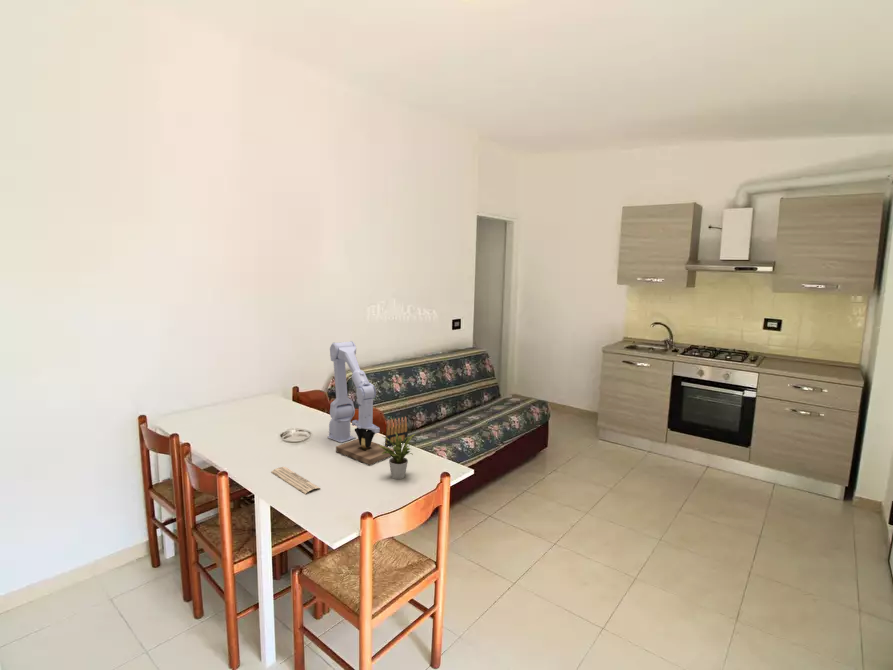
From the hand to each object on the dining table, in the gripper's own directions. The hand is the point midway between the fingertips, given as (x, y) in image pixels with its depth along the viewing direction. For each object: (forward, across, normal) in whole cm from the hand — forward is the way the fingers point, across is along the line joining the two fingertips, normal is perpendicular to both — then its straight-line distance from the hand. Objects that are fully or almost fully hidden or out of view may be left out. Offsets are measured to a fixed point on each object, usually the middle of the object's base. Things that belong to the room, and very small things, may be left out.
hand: (365, 445), depth 203 cm
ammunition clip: (+4, +2, +17) cm, 18 cm away
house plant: (+4, +24, -5) cm, 25 cm away
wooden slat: (+5, 0, -34) cm, 34 cm away
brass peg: (+2, 0, 0) cm, 2 cm away
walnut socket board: (+4, 0, 0) cm, 4 cm away
